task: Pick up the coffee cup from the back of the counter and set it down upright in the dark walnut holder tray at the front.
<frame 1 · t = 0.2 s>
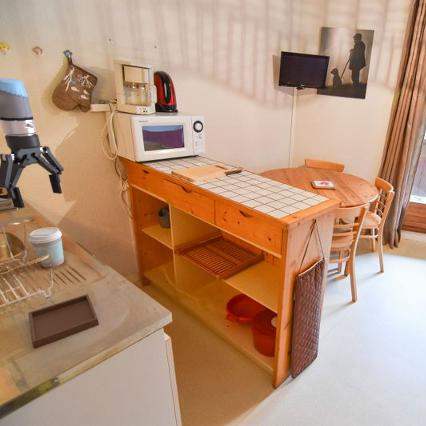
hand: (39, 199, 104), 22 cm above the countertop, tool pointing down, fingers open, 13 cm apart
holder: (64, 321, 85), on the countertop
coffee cup: (53, 263, 109), on the countertop
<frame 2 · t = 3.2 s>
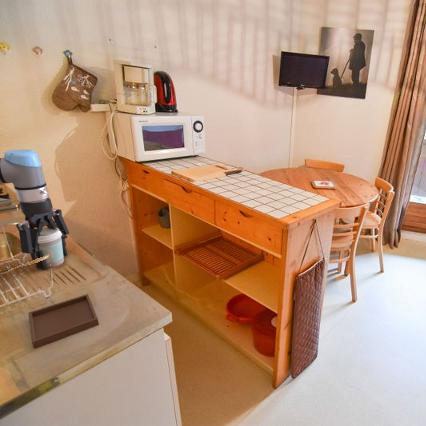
hand: (52, 261, 109), 1 cm above the countertop, tool pointing down, fingers closed on coffee cup, 8 cm apart
coffee cup: (53, 263, 109), on the countertop, touching gripper
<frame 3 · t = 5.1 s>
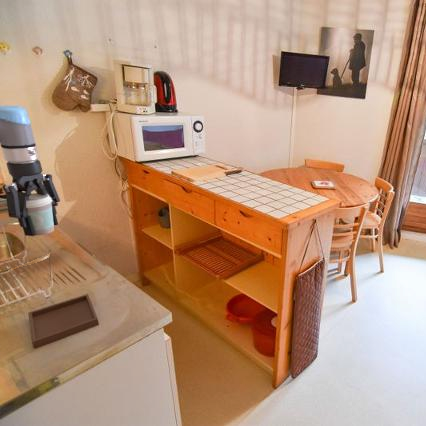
hand: (42, 229, 103), 13 cm above the countertop, tool pointing down, fingers closed on coffee cup, 8 cm apart
coffee cup: (43, 232, 103), point 13 cm above the countertop, touching gripper
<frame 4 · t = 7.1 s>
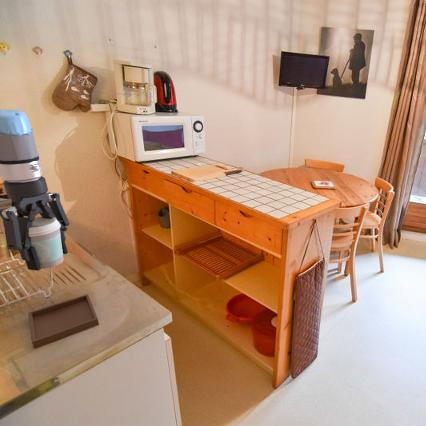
hand: (49, 260, 84), 15 cm above the countertop, tool pointing down, fingers closed on coffee cup, 8 cm apart
coffee cup: (50, 263, 84), point 15 cm above the countertop, touching gripper
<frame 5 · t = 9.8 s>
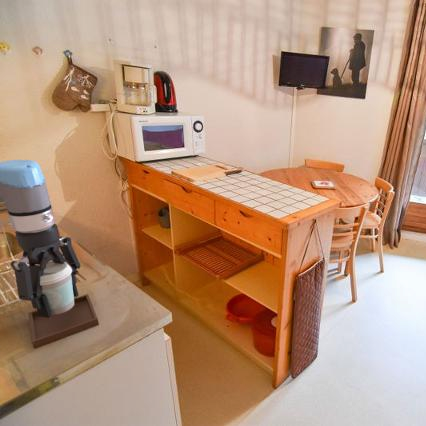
hand: (59, 305, 83), 6 cm above the countertop, tool pointing down, fingers closed on coffee cup, 8 cm apart
coffee cup: (60, 307, 83), point 5 cm above the countertop, touching gripper
when the fingers open (1 cm above the countertop, at t = 11.4 s): coffee cup stays where it is, resting on holder.
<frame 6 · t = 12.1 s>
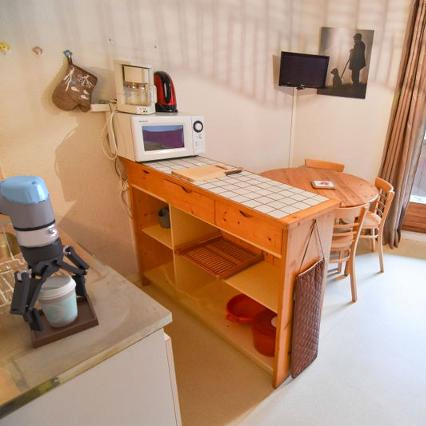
hand: (61, 311, 84), 3 cm above the countertop, tool pointing down, fingers open, 13 cm apart
coffee cup: (64, 320, 85), resting on holder
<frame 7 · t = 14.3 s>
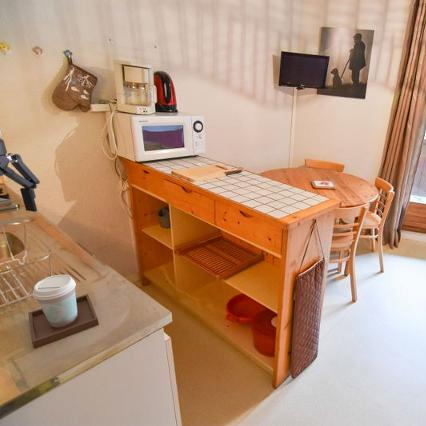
hand: (6, 220, 83), 25 cm above the countertop, tool pointing down, fingers open, 13 cm apart
nothing on the countertop moved.
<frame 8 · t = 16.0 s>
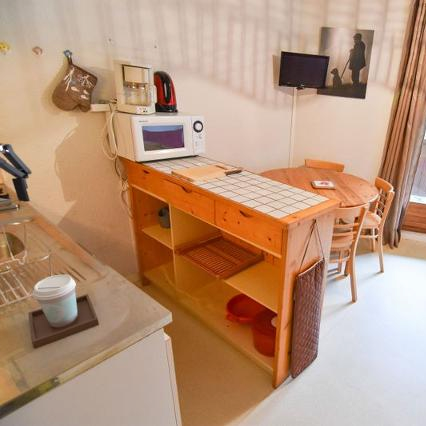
nothing on the countertop moved.
at the end: coffee cup inside the target area in the holder (0.1 cm from its centre), point 0.4 cm above the holder's base; coffee cup tilted 0°; the gripper is holding nothing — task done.
